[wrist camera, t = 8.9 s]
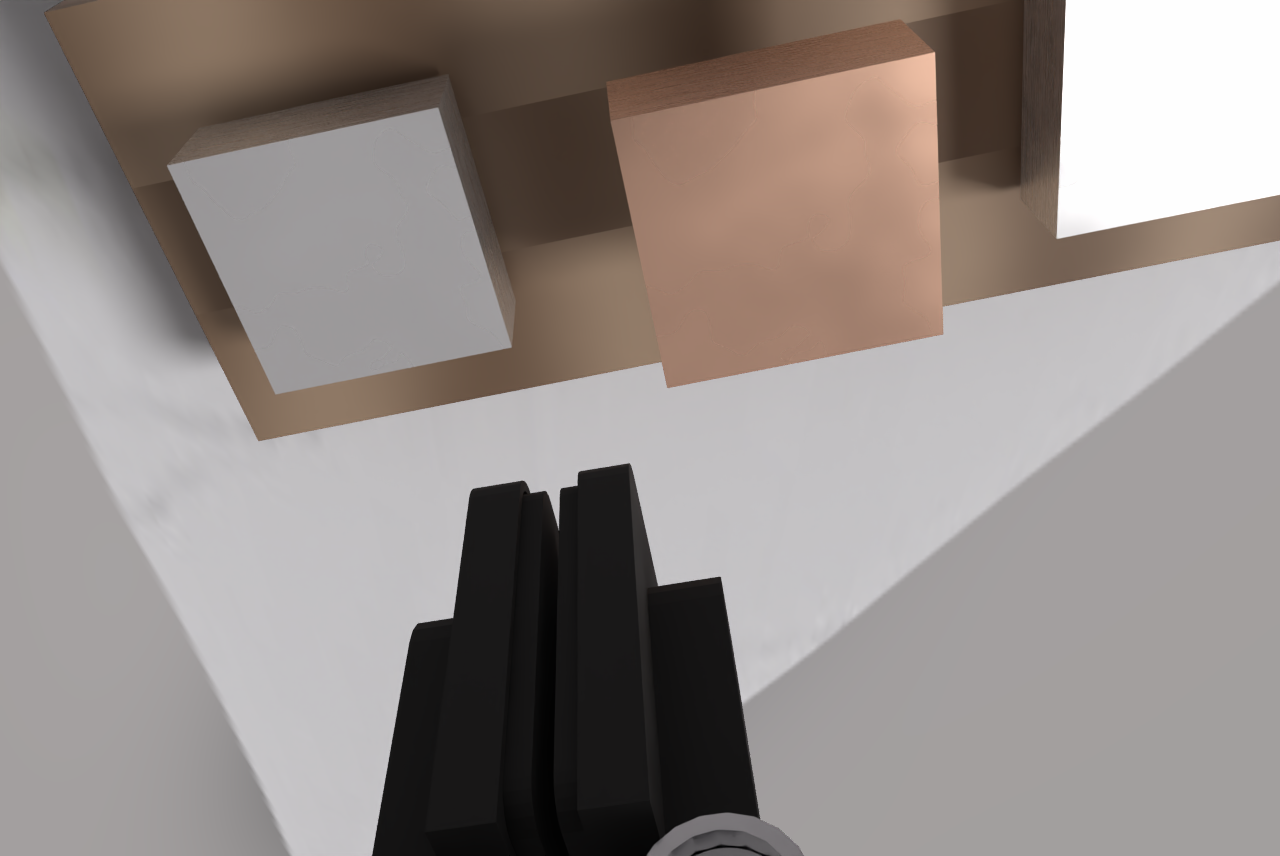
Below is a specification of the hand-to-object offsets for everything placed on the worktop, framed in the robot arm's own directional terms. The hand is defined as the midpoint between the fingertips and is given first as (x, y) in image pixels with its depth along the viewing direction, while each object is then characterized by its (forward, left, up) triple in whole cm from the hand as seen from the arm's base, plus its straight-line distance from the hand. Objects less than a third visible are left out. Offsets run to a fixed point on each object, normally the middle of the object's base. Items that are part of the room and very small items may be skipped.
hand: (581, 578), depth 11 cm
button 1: (+4, 0, -16) cm, 17 cm away
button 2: (-12, 0, -16) cm, 20 cm away
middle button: (-4, 0, -14) cm, 14 cm away
